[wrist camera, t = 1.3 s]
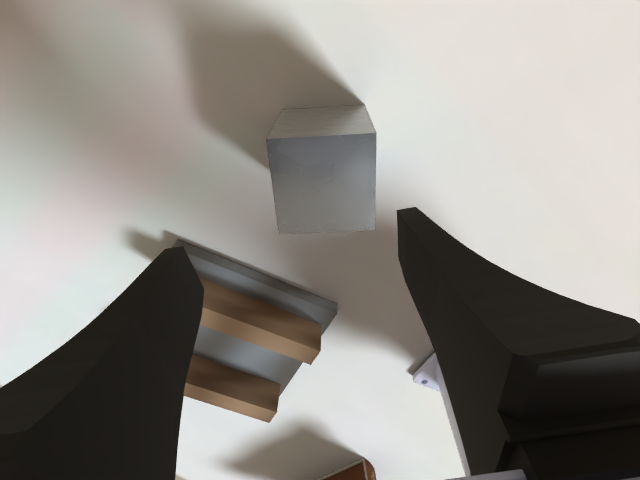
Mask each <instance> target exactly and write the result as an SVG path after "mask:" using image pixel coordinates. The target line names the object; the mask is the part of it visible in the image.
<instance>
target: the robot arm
mask: <svg viewBox="0 0 640 480" xmlns="http://www.w3.org/2000/svg"><path fill="white" fill-rule="evenodd" d="M397 226H398V257H399V261H400V264H401V268H402V272H403V275H404V278H405V282H406V284H407V287H408V289H409V291H410V294H411V296H412V298H413V301H414V303H415V305H416V307H417V310H418V312H419V314H420V317H421V319H422V321H423V323H424V326H425V328H426V330H427V333H428V335H429V337H430V340H431V342H432V345H433V348H434V350H435V352H434V353H433V354H432V356H431V357H430V358H429V359H428V360H427V361H426V362H425V363H424V364H423V365H422V366H421V367H420V368H419V369H418V370H417V371H416V372H415V373H414V375H413V381H414V382H415V383H418V384H420V385H423V386H426V387H428V388H431V389H433V390H436V391H439V392H441V395H442V398H443V401H444V405H445V408H446V412H447V415H448V418H449V422H450V425H451V428H452V432H453V435H454V439H455V442H456V445H457V449H458V452H459V455H460V459H461V462H462V466H463V469H464V472H465V476H466V477H461V478H454V479H446V480H640V324H639V323H638V322H637V321H636V320H635V319H633V318H629V317H626V316H623V315H619V314H616V313H613V312H610V311H606V310H603V309H600V308H596V307H593V306H590V305H587V304H584V303H581V302H578V301H576V300H573V299H570V298H567V297H565V296H562V295H559V294H557V293H554V292H552V291H549V290H547V289H544V288H542V287H540V286H538V285H535V284H533V283H531V282H529V281H526V280H524V279H522V278H520V277H518V276H516V275H514V274H512V273H510V272H508V271H506V270H504V269H502V268H501V267H499V266H497V265H495V264H493V263H491V262H490V261H488V260H486V259H485V258H483V257H481V256H480V255H478V254H477V253H475V252H474V251H472V250H471V249H469V248H467V247H466V246H465V245H463V244H462V243H460V242H459V241H458V240H456V239H455V238H454V237H452V236H451V235H450V234H448V233H447V232H446V231H444V230H443V229H442V228H441V227H439V226H438V225H437V224H436V223H435V222H433V221H432V220H431V219H430V218H429V217H427V216H426V215H425V214H424V213H423V212H421V211H420V210H419V209H418V208H416V207H413V208H407V209H401V210H397ZM203 300H204V287H203V285H202V283H201V281H200V279H199V277H198V275H197V273H196V271H195V269H194V267H193V265H192V263H191V261H190V259H189V257H188V255H187V253H186V251H185V249H184V247H183V246H180V247H174V248H169V249H165V250H164V251H163V252H162V253H161V254H160V255H159V256H158V257H157V258H156V259H155V260H154V261H153V262H152V263H151V264H150V265H149V266H148V267H147V268H146V269H145V270H144V271H143V272H142V273H141V274H140V275H139V276H138V277H137V278H136V279H135V280H134V281H133V282H132V283H131V284H130V286H129V287H128V288H127V289H126V290H125V291H124V292H123V293H122V294H121V295H120V296H119V297H117V298H116V299H115V300H114V301H113V302H112V303H111V304H110V305H109V306H108V307H107V308H106V309H105V310H104V311H103V312H102V313H101V314H100V315H99V316H98V317H96V318H95V319H94V320H93V321H92V322H91V323H90V324H88V325H87V326H86V327H85V328H84V329H82V330H81V331H80V332H79V333H78V334H76V335H75V336H74V337H73V338H71V339H70V340H69V341H68V342H66V343H65V344H64V345H62V346H61V347H60V348H58V349H57V350H56V351H54V352H53V353H51V354H50V355H49V356H47V357H46V358H45V359H43V360H42V361H40V362H39V363H38V364H36V365H35V366H33V367H32V368H31V369H29V370H28V371H26V372H25V373H23V374H22V375H20V376H18V377H17V378H15V379H14V380H12V381H11V382H9V383H8V384H6V385H4V386H3V387H1V388H0V480H175V472H176V459H177V446H178V437H179V428H180V418H181V411H182V403H183V396H184V389H185V383H186V378H187V374H188V370H189V366H190V362H191V358H192V354H193V350H194V346H195V342H196V338H197V334H198V330H199V326H200V321H201V317H202V310H203Z"/></svg>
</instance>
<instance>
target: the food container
mask: <svg viewBox="0 0 640 480" xmlns="http://www.w3.org/2000/svg"><path fill="white" fill-rule="evenodd" d="M316 480H376V475H375V470H374V468H373V466H372V464H371V463H370V462H369V461H368V460H366V459H365V458H363V459H360V460H358V461H356V462H354V463H352V464H349V465H347V466H345V467H343V468H341V469H338V470H336V471H334V472H332V473H330V474H327V475H325V476H323V477H321V478H319V479H316Z"/></svg>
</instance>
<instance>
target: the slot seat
mask: <svg viewBox="0 0 640 480" xmlns="http://www.w3.org/2000/svg"><path fill="white" fill-rule="evenodd" d="M180 246H183V247H184V249H185V251H186V253H187V255H188V257H189V259H190V261H191V263H192V265H193V267H194V269H195V271H196V273H197V275H198V277H199V279H200V281H201V283H202V285H203V287H204V300H203V310H202V317H201V321H200V326H199V330H198V334H197V338H196V342H195V346H194V350H193V354H192V358H191V362H190V366H189V370H188V374H187V378H186V383H185V389H184V396H187V397H190V398H193V399H196V400H199V401H202V402H205V403H209V404H212V405H215V406H218V407H221V408H224V409H227V410H231V411H234V412H237V413H240V414H243V415H246V416H249V417H253V418H256V419H259V420H262V421H265V422H268V423H269V422H270V421H271V420H272V418H273V417H274V415H275V414H276V413H277V407H278V399H279V396H280V395H281V393H282V392H283V390H284V389H285V387H286V386H287V385H288V383H289V382H290V380H291V379H292V377H293V376H294V375H295V373H296V372H297V370H298V369H299V367H300V366H301V364H302V363H303V362H305V363H308V364H310V365H311V364H312V362H313V361H314V359H315V358H316V357H317V355H318V354H319V352H320V350H321V336H322V334H323V333H324V331H325V330H326V328H327V327H328V326H329V324H330V323H331V321H332V320H333V318H334V317H335V315H336V314H337V304H335V303H333V302H330V301H328V300H325V299H323V298H321V297H318V296H316V295H313V294H311V293H308V292H306V291H303V290H301V289H298V288H296V287H294V286H291V285H289V284H286V283H284V282H281V281H279V280H276V279H274V278H271V277H269V276H266V275H264V274H262V273H259V272H257V271H254V270H252V269H249V268H247V267H244V266H242V265H239V264H237V263H234V262H232V261H230V260H227V259H225V258H222V257H220V256H217V255H215V254H212V253H210V252H207V251H205V250H203V249H200V248H198V247H195V246H193V245H190V244H188V243H185V242H183V241H180V240H177V242H176V243H175V245H174V246H173V247H172V248H174V247H180Z"/></svg>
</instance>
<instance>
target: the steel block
mask: <svg viewBox="0 0 640 480" xmlns="http://www.w3.org/2000/svg"><path fill="white" fill-rule="evenodd" d="M266 142H267V149H268V156H269V164H270V171H271V179H272V186H273V193H274V201H275V208H276V216H277V223H278V231H279V234H293V233H318V232H343V231H367V230H375V186H376V131H375V128H374V126H373V123H372V121H371V119H370V116H369V114H368V111H367V109H366V106H365V105H351V106H334V107H317V108H300V109H283V110H282V112H281V113H280V115H279V117H278V119H277V120H276V122H275V124H274V126H273V128H272V129H271V131H270V133H269V135H268V136H267V138H266Z"/></svg>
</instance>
